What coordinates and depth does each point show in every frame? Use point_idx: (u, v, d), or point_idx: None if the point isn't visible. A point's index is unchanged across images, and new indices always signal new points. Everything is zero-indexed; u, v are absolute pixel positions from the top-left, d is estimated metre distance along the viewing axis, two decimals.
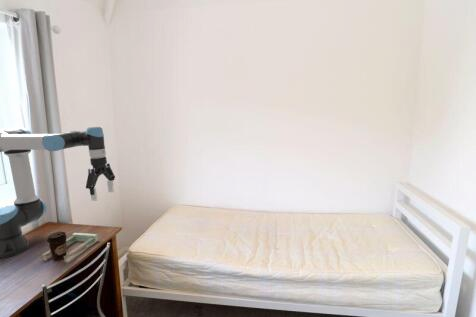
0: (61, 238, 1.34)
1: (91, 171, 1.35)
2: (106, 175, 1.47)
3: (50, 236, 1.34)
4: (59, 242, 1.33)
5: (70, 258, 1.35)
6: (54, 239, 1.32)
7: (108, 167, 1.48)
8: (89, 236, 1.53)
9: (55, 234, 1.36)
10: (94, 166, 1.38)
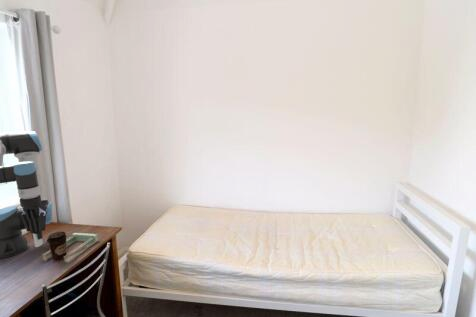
0: (61, 238, 1.34)
1: None
2: None
3: (50, 236, 1.34)
4: (59, 242, 1.33)
5: (70, 258, 1.35)
6: (54, 239, 1.32)
7: (39, 215, 1.21)
8: (89, 236, 1.53)
9: (55, 234, 1.36)
10: None
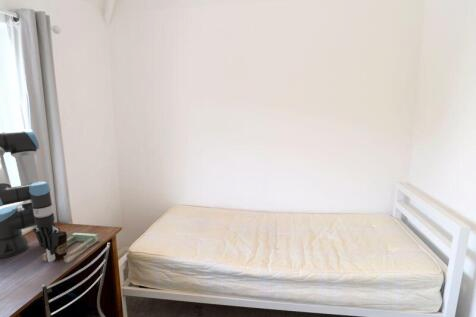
0: (62, 237, 1.34)
1: None
2: None
3: None
4: (60, 241, 1.33)
5: (70, 258, 1.35)
6: None
7: (53, 232, 1.28)
8: (89, 236, 1.53)
9: None
10: None
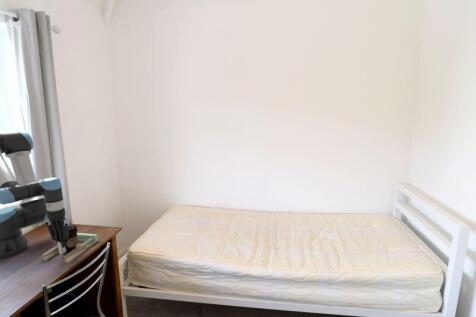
0: (72, 231, 1.40)
1: None
2: None
3: None
4: (70, 235, 1.40)
5: (70, 258, 1.35)
6: None
7: (64, 226, 1.34)
8: (89, 236, 1.53)
9: None
10: None
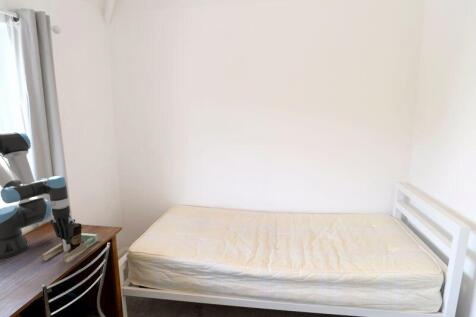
0: (77, 228, 1.43)
1: None
2: None
3: None
4: (75, 232, 1.43)
5: (70, 258, 1.35)
6: None
7: (69, 223, 1.37)
8: (89, 236, 1.53)
9: None
10: None
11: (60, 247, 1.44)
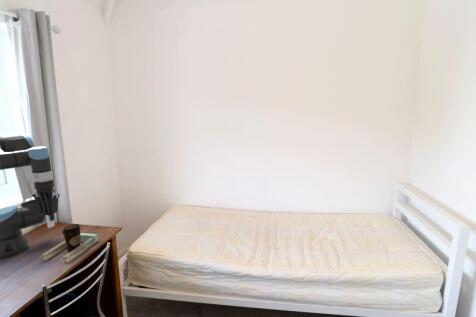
0: (75, 230, 1.42)
1: None
2: None
3: (65, 228, 1.43)
4: (73, 233, 1.42)
5: (70, 258, 1.35)
6: (69, 230, 1.41)
7: None
8: (89, 236, 1.53)
9: (70, 226, 1.45)
10: None
11: (60, 247, 1.44)
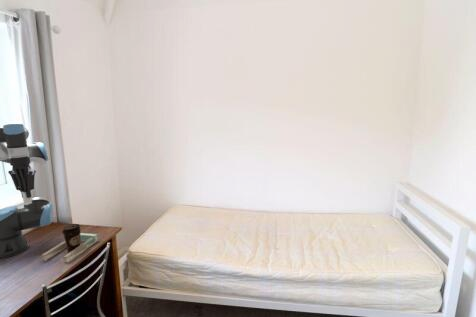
0: (75, 230, 1.42)
1: None
2: None
3: (65, 228, 1.43)
4: (73, 233, 1.42)
5: (70, 258, 1.35)
6: (69, 230, 1.41)
7: (28, 174, 1.27)
8: (89, 236, 1.53)
9: (70, 226, 1.45)
10: None
11: (60, 247, 1.44)
